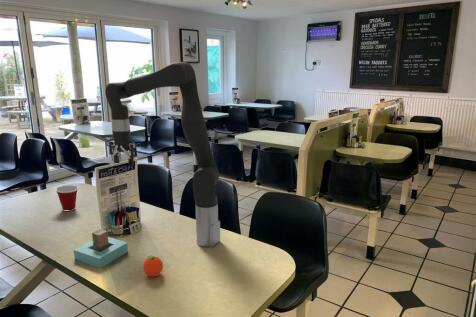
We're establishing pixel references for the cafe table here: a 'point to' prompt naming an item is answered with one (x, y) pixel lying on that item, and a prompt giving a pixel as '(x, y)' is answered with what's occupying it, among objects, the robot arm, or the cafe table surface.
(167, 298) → the cafe table surface
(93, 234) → the peg
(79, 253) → the socket block
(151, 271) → the clementine
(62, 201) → the plastic cup
